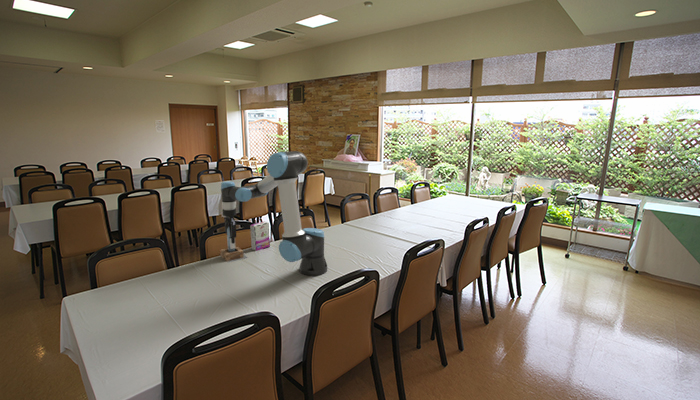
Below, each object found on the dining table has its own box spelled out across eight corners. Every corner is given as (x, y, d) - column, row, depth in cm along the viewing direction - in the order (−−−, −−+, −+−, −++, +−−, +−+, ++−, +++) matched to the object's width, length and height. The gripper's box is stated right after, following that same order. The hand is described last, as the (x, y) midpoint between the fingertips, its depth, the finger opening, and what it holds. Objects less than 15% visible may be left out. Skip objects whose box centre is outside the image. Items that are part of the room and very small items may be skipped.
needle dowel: (236, 252, 203) (235, 226, 200) (229, 253, 201) (228, 227, 198) (234, 250, 206) (232, 224, 203) (227, 251, 204) (225, 226, 201)
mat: (248, 258, 203) (248, 257, 203) (227, 262, 196) (227, 262, 196) (239, 251, 214) (239, 250, 214) (219, 255, 207) (219, 255, 207)
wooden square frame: (243, 257, 204) (243, 251, 203) (226, 261, 197) (226, 254, 197) (237, 252, 211) (237, 246, 210) (220, 256, 205) (220, 249, 204)
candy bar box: (265, 245, 226) (264, 221, 223) (270, 246, 223) (269, 222, 220) (251, 249, 217) (249, 224, 214) (256, 251, 214) (254, 226, 211)
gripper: (241, 210, 194) (243, 249, 199) (230, 204, 207) (232, 242, 212) (227, 212, 189) (230, 252, 194) (217, 206, 203) (220, 244, 207)
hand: (231, 247), depth 203 cm, fingers closed on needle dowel, 4 cm apart
